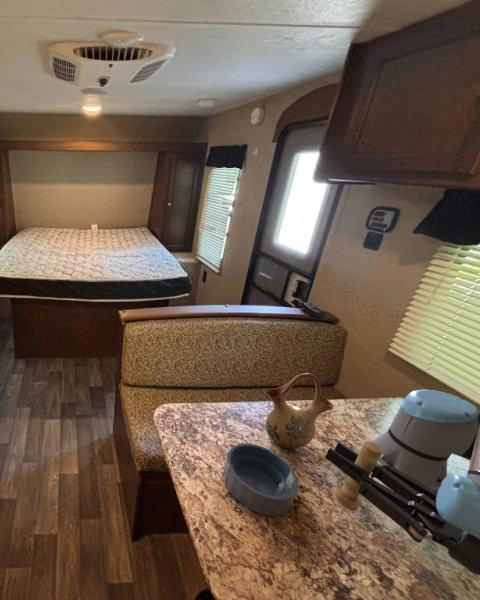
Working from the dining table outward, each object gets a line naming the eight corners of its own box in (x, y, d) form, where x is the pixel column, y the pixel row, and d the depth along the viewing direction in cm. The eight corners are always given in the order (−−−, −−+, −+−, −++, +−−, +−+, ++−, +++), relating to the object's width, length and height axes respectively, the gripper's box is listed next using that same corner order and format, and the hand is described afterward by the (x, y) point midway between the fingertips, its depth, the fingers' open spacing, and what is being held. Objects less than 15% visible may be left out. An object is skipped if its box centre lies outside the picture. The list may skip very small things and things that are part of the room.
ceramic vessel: (256, 448, 92) (280, 377, 82) (250, 426, 100) (270, 359, 90) (321, 462, 88) (353, 390, 78) (309, 438, 96) (337, 369, 86)
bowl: (288, 476, 83) (296, 459, 81) (292, 531, 71) (301, 512, 68) (225, 451, 90) (230, 435, 88) (218, 497, 78) (224, 479, 75)
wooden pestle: (355, 496, 69) (384, 443, 63) (360, 514, 66) (391, 459, 59) (331, 487, 71) (357, 434, 65) (334, 504, 68) (362, 450, 61)
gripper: (464, 601, 48) (305, 476, 67) (498, 549, 55) (345, 449, 74) (491, 573, 45) (317, 450, 64) (523, 522, 52) (356, 425, 71)
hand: (332, 450), depth 69 cm, fingers closed on wooden pestle, 3 cm apart
